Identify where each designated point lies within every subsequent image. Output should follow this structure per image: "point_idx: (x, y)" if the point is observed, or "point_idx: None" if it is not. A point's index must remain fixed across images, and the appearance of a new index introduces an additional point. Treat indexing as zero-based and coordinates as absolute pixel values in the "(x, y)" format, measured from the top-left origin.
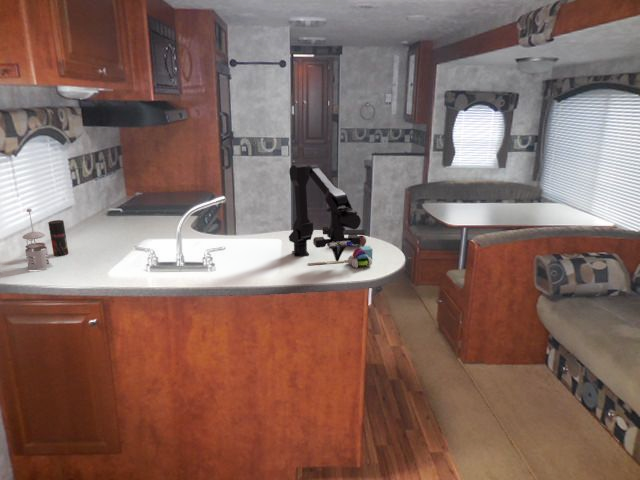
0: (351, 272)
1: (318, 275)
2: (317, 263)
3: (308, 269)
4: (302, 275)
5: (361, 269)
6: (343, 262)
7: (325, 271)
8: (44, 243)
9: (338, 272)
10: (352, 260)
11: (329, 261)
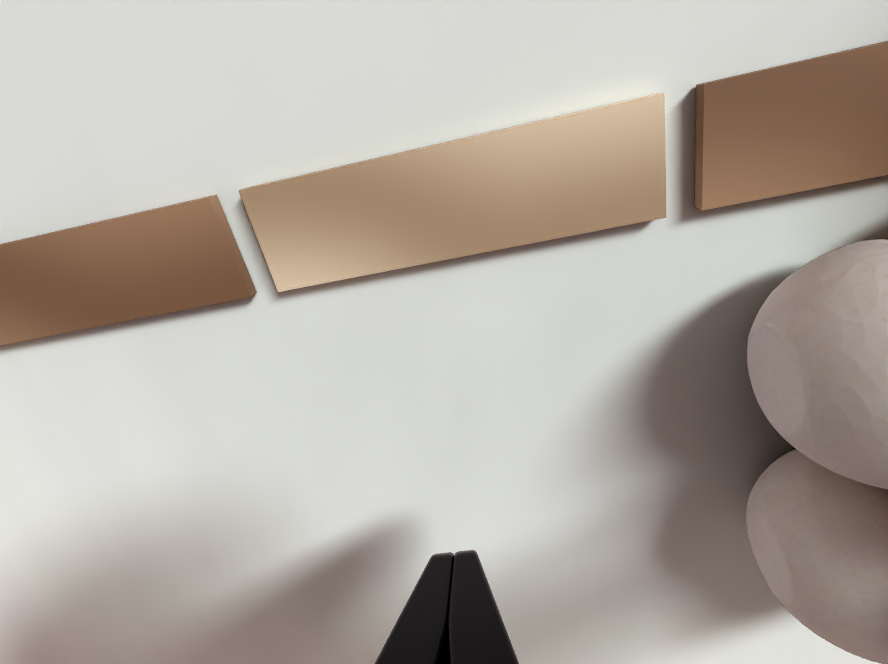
0: (648, 626)
1: (226, 657)
2: (79, 290)
3: (33, 496)
4: (43, 642)
5: None
6: (638, 217)
7: (292, 572)
8: None
9: None
10: (814, 597)
11: (311, 175)
